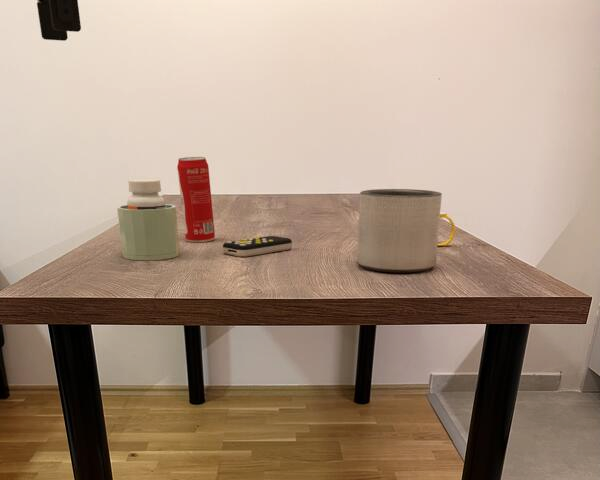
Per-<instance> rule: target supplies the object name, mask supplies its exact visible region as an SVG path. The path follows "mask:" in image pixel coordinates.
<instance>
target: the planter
mask: <svg viewBox="0 0 600 480" xmlns="http://www.w3.org/2000/svg"><path fill="white" fill-rule="evenodd" d="M442 196H443V194H442V192H440V191H435V190H429V189H427V190H426V189H412V188H379V189H366V190H362V191H360V192H359V206H358V207H359V208H358V226H357V227H358V229H357V243H356V244H357V245H356V263H357V264H358V265H359V266H360V267H362V268H363V269H366V270H370V271H375V272H379V273H380V272H381V273H393V274H394V273H395V274H406V273H409V274H410V273H420V272H425V271H429V270H430V269H431V268H434V266H435V265H436V263H437V258H438V257H437V256H438V247H439V246H438V243H439V233H440V232H439V230H440V219H441V218H440V212H441V208H442V207H441V206H442Z"/></svg>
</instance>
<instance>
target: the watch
mask: <svg viewBox="0 0 600 480" xmlns="http://www.w3.org/2000/svg"><path fill="white" fill-rule="evenodd" d="M442 218H443V219H447V220H448V221H449V224H451V233H450V236H449V238H448V239H447V240H446V241H445V242H438V246H437V247H447V246H448V245H449V244H450V243H451V242H452V241H453V239H454V237H455V235H456V225H455V222H454V221H453V220H452V218H451V217H450V216H448V213H447V212H443V211H440V219H442Z"/></svg>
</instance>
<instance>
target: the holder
mask: <svg viewBox="0 0 600 480" xmlns="http://www.w3.org/2000/svg"><path fill="white" fill-rule="evenodd" d="M116 210H117V219H118V228H119V236H120V237H119V238H120V246H121V252H122V253H121V254H122V258H124V259H127V260H132V261H142V262H143V261H144V262H145V261H149V262H151V261H163V260H170V259H174V258H177V257H179V255H180V244H179V242H180V241H179V232H178V230H179V229H178V218H177V217H178V216H177V206H176V205H174V204H169V203H165V208H164V209H145V210H140V209H128V207H127V204H124V205H123V204H122V205H119V206H117V207H116Z"/></svg>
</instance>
